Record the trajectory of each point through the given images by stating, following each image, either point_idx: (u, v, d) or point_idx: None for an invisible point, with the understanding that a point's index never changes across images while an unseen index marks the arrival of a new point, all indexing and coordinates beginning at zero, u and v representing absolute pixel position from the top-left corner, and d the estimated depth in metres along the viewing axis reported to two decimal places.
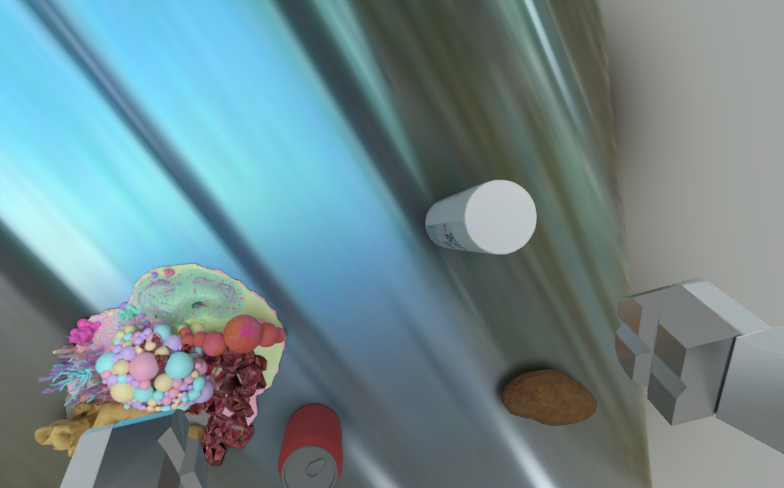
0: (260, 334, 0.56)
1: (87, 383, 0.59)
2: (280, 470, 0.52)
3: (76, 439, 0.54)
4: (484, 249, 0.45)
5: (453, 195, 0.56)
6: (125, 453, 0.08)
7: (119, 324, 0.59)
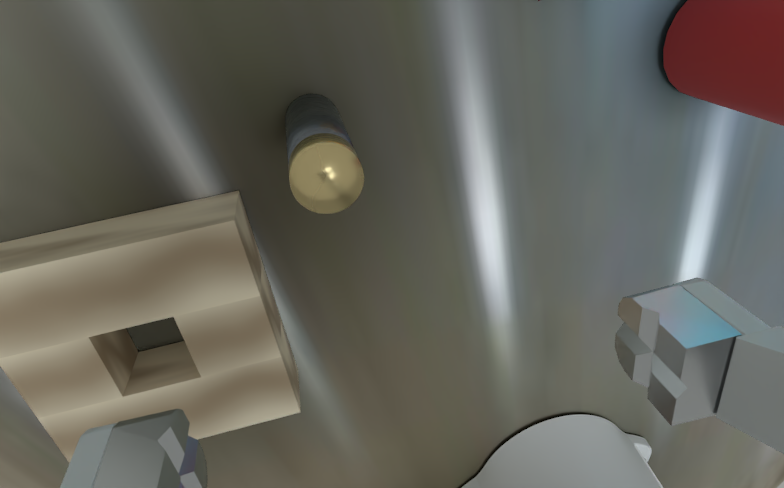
0: None
1: None
2: None
3: None
4: None
5: None
6: (125, 453, 0.08)
7: None
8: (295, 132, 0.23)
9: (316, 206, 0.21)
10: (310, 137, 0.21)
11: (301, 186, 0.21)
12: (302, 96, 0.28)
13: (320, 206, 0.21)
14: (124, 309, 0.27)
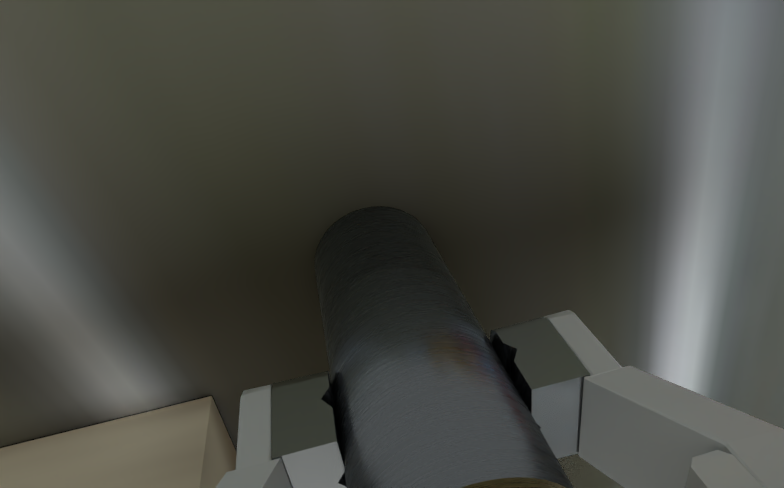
0: None
1: None
2: None
3: None
4: None
5: None
6: (293, 410, 0.08)
7: None
8: (370, 401, 0.08)
9: None
10: None
11: None
12: (357, 215, 0.12)
13: None
14: None
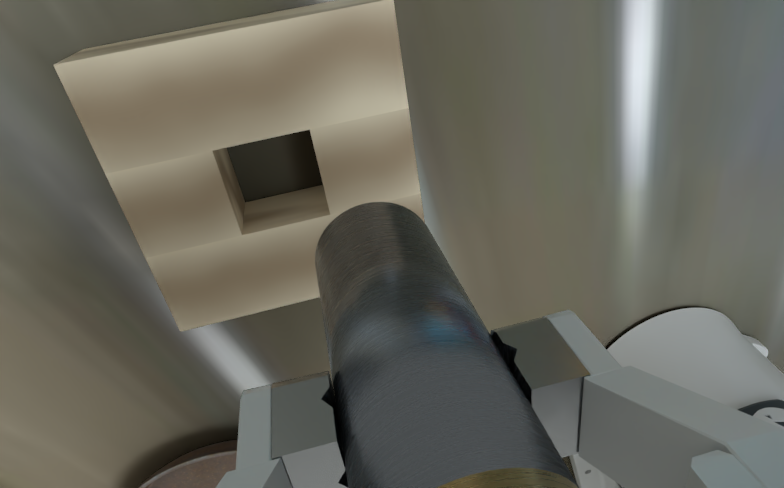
0: None
1: None
2: None
3: None
4: None
5: None
6: (293, 410, 0.08)
7: None
8: (371, 393, 0.07)
9: None
10: None
11: None
12: (357, 210, 0.12)
13: None
14: (257, 115, 0.23)
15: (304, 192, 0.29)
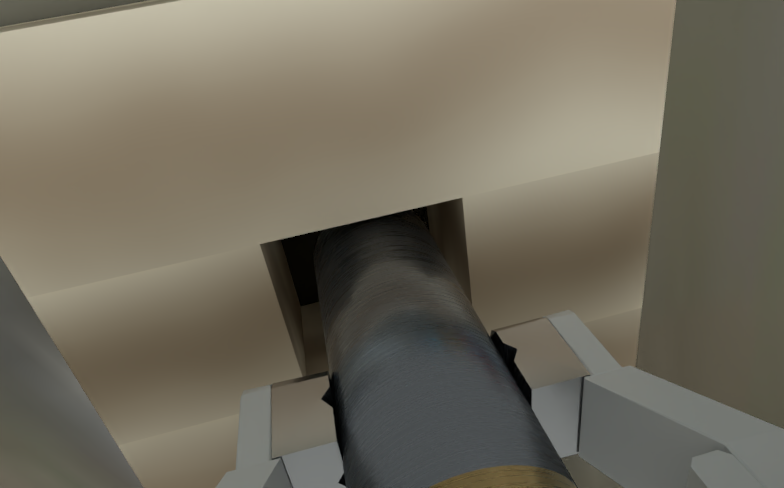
0: None
1: None
2: None
3: None
4: None
5: None
6: (293, 410, 0.08)
7: None
8: (369, 391, 0.07)
9: None
10: None
11: None
12: None
13: None
14: (359, 170, 0.11)
15: None
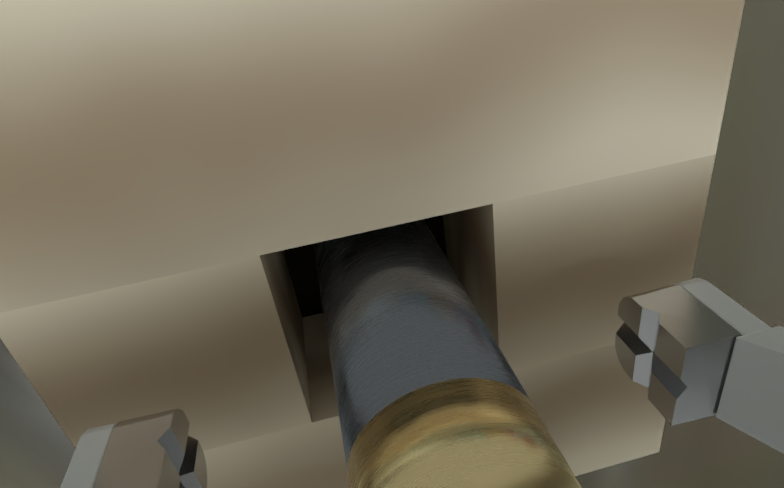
0: None
1: None
2: None
3: None
4: None
5: None
6: (125, 453, 0.08)
7: None
8: (357, 330, 0.09)
9: None
10: (423, 403, 0.07)
11: None
12: None
13: None
14: (376, 170, 0.09)
15: None
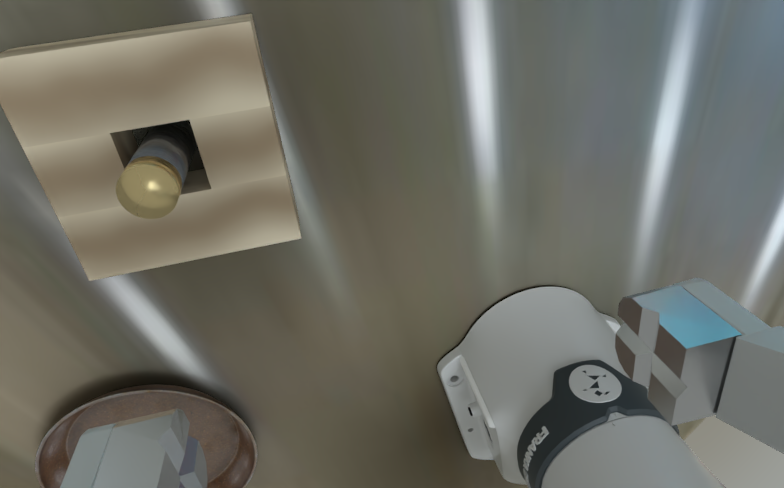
0: None
1: None
2: None
3: None
4: None
5: None
6: (125, 453, 0.08)
7: None
8: (135, 152, 0.29)
9: (140, 213, 0.28)
10: (136, 159, 0.27)
11: (126, 197, 0.27)
12: None
13: (144, 213, 0.28)
14: (145, 106, 0.30)
15: (199, 172, 0.36)
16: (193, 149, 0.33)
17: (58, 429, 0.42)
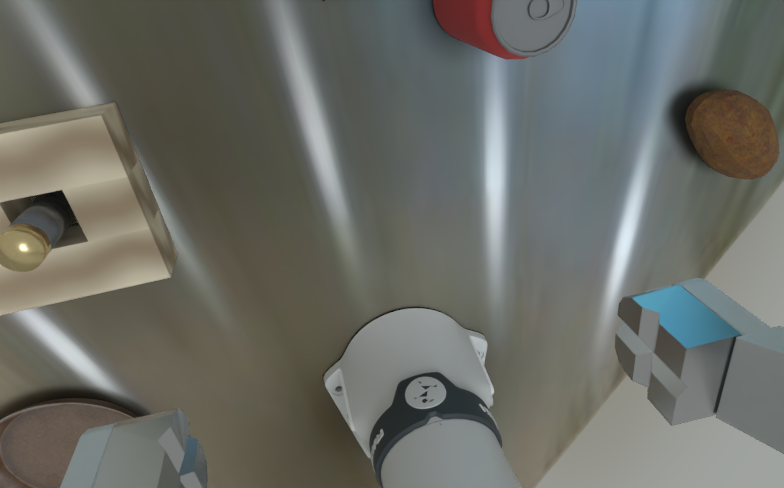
0: None
1: None
2: None
3: None
4: None
5: None
6: (125, 453, 0.08)
7: None
8: (16, 218, 0.37)
9: (14, 268, 0.36)
10: (10, 227, 0.36)
11: (1, 257, 0.35)
12: None
13: (17, 267, 0.36)
14: (24, 181, 0.38)
15: None
16: None
17: None
